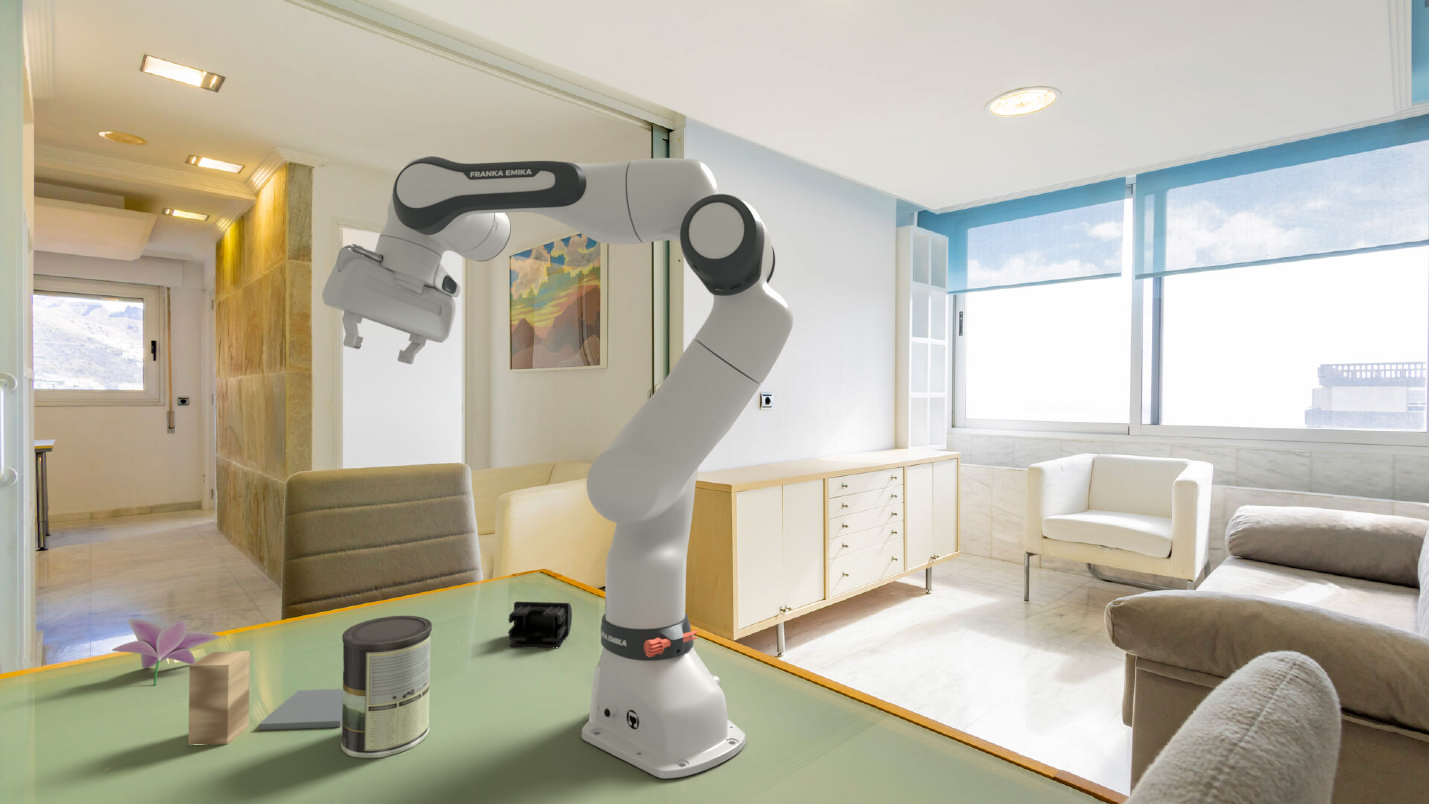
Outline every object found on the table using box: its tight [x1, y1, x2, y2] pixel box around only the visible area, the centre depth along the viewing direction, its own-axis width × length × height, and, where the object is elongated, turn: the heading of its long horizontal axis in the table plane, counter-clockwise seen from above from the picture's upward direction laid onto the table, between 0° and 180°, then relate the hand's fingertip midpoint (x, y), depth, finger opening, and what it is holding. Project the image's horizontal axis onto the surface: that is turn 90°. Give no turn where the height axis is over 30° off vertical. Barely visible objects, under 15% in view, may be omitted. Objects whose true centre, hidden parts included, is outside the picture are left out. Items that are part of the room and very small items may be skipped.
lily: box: [111, 618, 221, 686], centre depth 102 cm, size 12×12×10 cm
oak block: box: [187, 650, 251, 746], centre depth 84 cm, size 4×4×10 cm
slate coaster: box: [258, 688, 343, 731], centre depth 91 cm, size 10×10×1 cm
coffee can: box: [340, 615, 433, 759], centre depth 84 cm, size 10×10×14 cm
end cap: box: [507, 601, 573, 649], centre depth 119 cm, size 10×7×7 cm
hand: (379, 355), depth 97 cm, fingers open, 8 cm apart
